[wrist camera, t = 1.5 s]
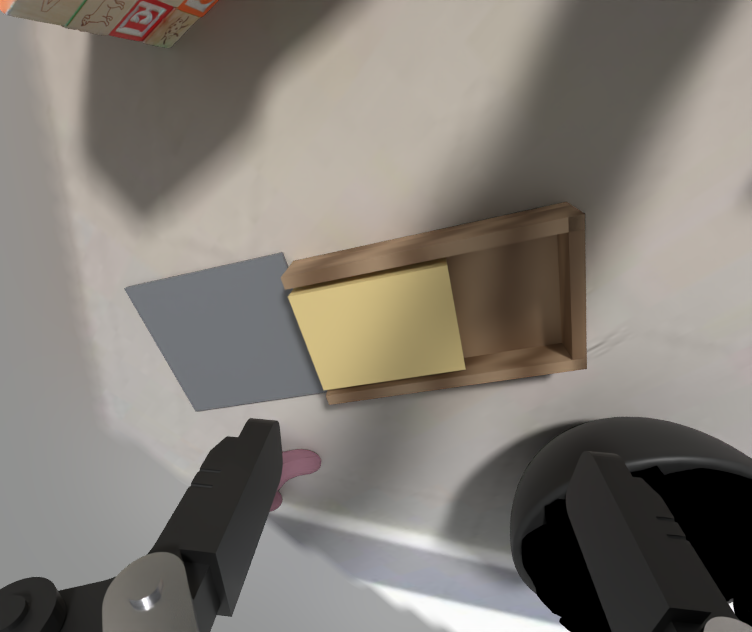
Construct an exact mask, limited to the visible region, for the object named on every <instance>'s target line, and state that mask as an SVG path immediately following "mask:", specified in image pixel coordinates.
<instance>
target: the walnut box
mask: <svg viewBox="0 0 752 632" xmlns="http://www.w3.org/2000/svg"><path fill="white" fill-rule="evenodd" d="M444 257H446V261H447V266H448V272H449V278H450V283H451V289H452V295H453V300H454V306H455V312H456V317H457V323H458V328H459V334H460V340H461V345H462V351H463V357H464V362H465V368H466V370H459V371H452V372H445V373H439V374H432V375H425V376H418V377H411V378H405V379H398V380H391V381H384V382H378V383H371V384H364V385H357V386H351V387H344V388H337V389H330V390H328V391H327V394H326V398H327V400H328V403H329V405H332V404H339V403H346V402H353V401H360V400H368V399H375V398H382V397H389V396H396V395H403V394H410V393H418V392H425V391H432V390H439V389H446V388H453V387H460V386H467V385H475V384H482V383H489V382H496V381H503V380H510V379H517V378H525V377H532V376H539V375H546V374H553V373H560V372H567V371H575V370H582V369H587V349H586V262H585V213H583V212H582V211H580V210H578V209H577V208H575V207H574V206H572V205H571V204H569V203H568V202H563V203H559V204H554V205H549V206H545V207H540V208H536V209H531V210H526V211H522V212H517V213H513V214H508V215H503V216H499V217H494V218H489V219H485V220H480V221H476V222H471V223H466V224H462V225H457V226H453V227H448V228H443V229H439V230H434V231H430V232H425V233H420V234H416V235H411V236H407V237H402V238H397V239H393V240H388V241H384V242H379V243H374V244H370V245H365V246H360V247H356V248H351V249H347V250H342V251H337V252H333V253H328V254H324V255H319V256H314V257H310V258H305V259H301V260H296V261H293V262H292V263H291V265H290V266H289V267H288V269H287V270H286V271H285V272H284V274H283V275H282V276H281V280H282V283H283V285H284V288H285V290H286V289H291V288H296V287H301V286H306V285H311V284H316V283H321V282H326V281H331V280H336V279H341V278H345V277H350V276H355V275H360V274H365V273H370V272H375V271H380V270H385V269H390V268H395V267H400V266H405V265H409V264H414V263H419V262H424V261H429V260H434V259H439V258H444Z"/></svg>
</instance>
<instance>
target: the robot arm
mask: <svg viewBox="0 0 752 632" xmlns="http://www.w3.org/2000/svg"><path fill="white" fill-rule="evenodd" d="M282 468H283V456H282V446H281V436H280V426H279V422H278V421H274V420H264V419H253V418H250V419H249V420H248V421H247V422H246V424H245V426H244V428H243V430H242V431H241V433H240V435H239V437H228V436H227V437H226V438H224V439H223V440H222V441H221V442H220V443H219V444H217V445H216V446H215V447H214V448H213V449H212V450H211V451H210V452H209V454H208V455H207V457H206V459H205V461H204V462H203V464H202V466H201V467H200V471H199V472H197V474H196V476H195V477H194V479H193V481H192V482H191V486H190V487H189V488H188V489H187V491H186V493H185V494H184V496H183V498H182V500H181V501H180V503H179V505H178V506H177V508H176V510H175V511H174V513H173V515H172V516H171V518H170V520H169V521H168V523H167V525H166V527H165V528H164V530H163V532H162V533H161V535H160V537H159V538H158V540H157V542H156V543H155V545H154V546H153V548H152V549H151V550H150V552H149V553H148V554H147V555H145V556H143V557H141V558H139V559H137V560H135V561H133V562H132V563H131V564H129V565H128V566H127V567H126V568H124V569H123V570H122V571H121V572H120V573H119V574H118V575H117V576H116V577H114V578H111V579H108V580H105V581H101V582H96V583H92V584H87V585H83V586H78V587H74V588H69V589H65V590H60V591H58V590H57V589H56V587H55V585H54V584H53V583H52V582H51V581H50V580H48V579H46V578H42V577H31V578H26V579H22V580H19V581H16V582H14V583H11V584H9V585H7V586H5V587H4V588H2V589H0V632H210V631H211V627H212V626H213V623H214V620H215V618H216V615H222V616H230V617H232V614H233V611H234V609H235V606H236V603H237V601H238V598H239V595H240V592H241V589H242V586H243V584H244V581H245V578H246V575H247V573H248V570H249V567H250V564H251V561H252V559H253V556H254V553H255V550H256V548H257V545H258V542H259V539H260V536H261V533H262V531H263V528H264V525H265V522H266V520H267V517H268V514H269V511H270V508H271V506H272V503H273V500H274V497H275V495H276V492H277V489H278V486H279V483H280V480H281V475H282ZM566 508H567V513H568V516H569V519H570V521H571V524H572V527H573V529H574V532H575V535H576V537H577V540H578V543H579V545H580V548H581V551H582V553H583V556H584V559H585V562H586V564H587V567H588V570H589V572H590V575H591V578H592V580H593V583H594V586H595V588H596V591H597V594H598V596H599V599H600V602H601V604H602V607H603V610H604V612H605V615H606V618H607V620H608V623H609V626H610V629H611V631H612V632H752V627H751V626H749V625H748V624H746V623H743V622H741V621H740V620H739V619H738V618H737V616H736V615H735V614H734V612H733V611H732V609H731V607H730V606H729V604H728V603H727V601H726V599H725V598H724V596H723V595H722V593H721V592H720V590H719V588H718V587H717V585H716V584H715V582H714V580H713V579H712V577H711V576H710V574H709V572H708V571H707V569H706V568H705V566H704V564H703V563H702V561H701V560H700V558H699V556H698V555H697V553H696V552H695V550H694V548H693V547H692V545H691V544H690V542H689V541H687V540H686V536H685V534H684V533H683V531H682V529H681V528H680V526H679V525H678V523H677V522H675V521H674V517H673V515H672V513H671V512H670V510H669V509H668V507H667V505H666V504H665V502H664V501H663V499H662V498H661V496H660V495H659V494H658V493H657V492H655V491H654V490H653V489H652V488H651V487H650V486H649V485H648V484H647V483H646V482H645V481H644V480H643V479H642V478H638V477H632V475H631V473H630V471H629V470H628V468H627V466H626V465H625V463H624V461H623V460H622V458H621V457H620V456H619V455H617V454H613V453H603V452H592V451H584V452H583V453H582V454H581V456H580V458H579V461H578V463H577V466H576V468H575V471H574V473H573V476H572V478H571V481H570V483H569V486H568V488H567V492H566Z"/></svg>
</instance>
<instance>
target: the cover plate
mask: <svg viewBox="0 0 752 632" xmlns="http://www.w3.org/2000/svg"><path fill="white" fill-rule="evenodd" d="M288 298H289V301H290V304H291V306H292V309H293V312H294V314H295V317H296V319H297V322H298V325H299V327H300V330H301V332H302V335H303V338H304V340H305V343H306V345H307V348H308V351H309V353H310V356H311V358H312V361H313V364H314V366H315V369H316V371H317V374H318V377H319V379H320V382H321V385H322V387H323V390H330V389H337V388H344V387H351V386H357V385H364V384H371V383H378V382H384V381H391V380H398V379H405V378H411V377H418V376H425V375H432V374H439V373H445V372H452V371H459V370H466V368H465V362H464V357H463V351H462V345H461V340H460V334H459V328H458V323H457V317H456V312H455V306H454V300H453V295H452V289H451V283H450V278H449V272H448V266H447V261H446V257H444V258H439V259H434V260H429V261H424V262H419V263H414V264H409V265H405V266H400V267H395V268H390V269H385V270H380V271H375V272H370V273H365V274H360V275H355V276H350V277H345V278H341V279H336V280H331V281H326V282H321V283H316V284H311V285H306V286H301V287H296V288H293V290H292V291H291V293H290V294H289V296H288Z"/></svg>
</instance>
